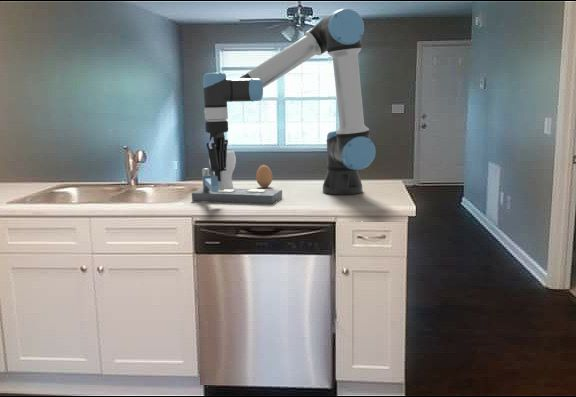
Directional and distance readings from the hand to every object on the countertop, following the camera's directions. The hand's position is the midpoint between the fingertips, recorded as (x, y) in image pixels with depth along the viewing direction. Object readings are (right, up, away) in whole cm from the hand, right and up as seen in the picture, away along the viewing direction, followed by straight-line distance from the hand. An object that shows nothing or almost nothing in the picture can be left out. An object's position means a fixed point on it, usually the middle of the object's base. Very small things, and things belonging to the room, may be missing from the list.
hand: (219, 190), depth 191 cm
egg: (+14, +2, +37) cm, 40 cm away
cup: (-3, +1, +35) cm, 35 cm away
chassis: (+5, -3, +11) cm, 13 cm away
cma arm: (-3, 0, +2) cm, 4 cm away
